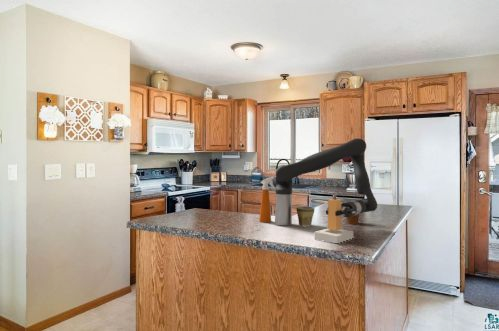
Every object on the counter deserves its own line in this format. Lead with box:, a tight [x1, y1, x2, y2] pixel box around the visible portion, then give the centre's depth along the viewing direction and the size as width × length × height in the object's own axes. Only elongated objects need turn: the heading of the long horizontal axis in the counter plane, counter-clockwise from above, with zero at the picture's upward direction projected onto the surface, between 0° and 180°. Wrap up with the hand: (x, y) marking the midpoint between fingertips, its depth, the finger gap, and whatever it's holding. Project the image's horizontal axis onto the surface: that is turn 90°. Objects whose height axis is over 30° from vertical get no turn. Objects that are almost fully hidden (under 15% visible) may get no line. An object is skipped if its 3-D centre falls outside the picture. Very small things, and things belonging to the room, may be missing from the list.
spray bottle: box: [258, 176, 276, 223], centre depth 202 cm, size 7×11×26 cm, turn 57°
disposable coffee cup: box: [345, 200, 360, 225], centre depth 200 cm, size 10×10×12 cm
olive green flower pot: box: [295, 205, 316, 228], centre depth 194 cm, size 13×10×10 cm
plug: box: [327, 194, 342, 231], centre depth 162 cm, size 4×4×16 cm
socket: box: [314, 227, 354, 244], centre depth 163 cm, size 14×12×4 cm
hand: (331, 213), depth 160 cm, fingers closed on plug, 4 cm apart
